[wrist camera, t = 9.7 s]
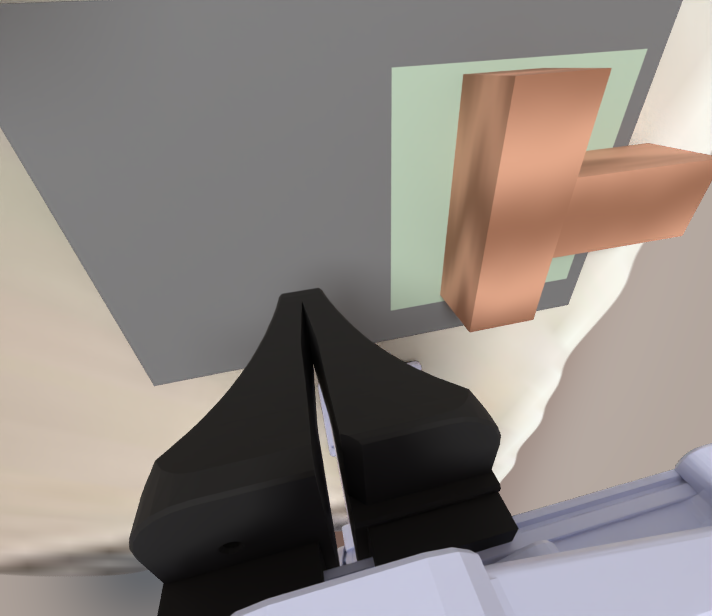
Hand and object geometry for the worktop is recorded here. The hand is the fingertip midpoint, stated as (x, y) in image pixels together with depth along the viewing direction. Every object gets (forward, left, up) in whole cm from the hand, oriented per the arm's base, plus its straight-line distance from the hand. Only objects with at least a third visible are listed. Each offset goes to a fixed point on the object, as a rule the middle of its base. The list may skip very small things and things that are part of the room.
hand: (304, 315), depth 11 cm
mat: (0, -5, -8) cm, 10 cm away
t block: (0, -15, -8) cm, 17 cm away
